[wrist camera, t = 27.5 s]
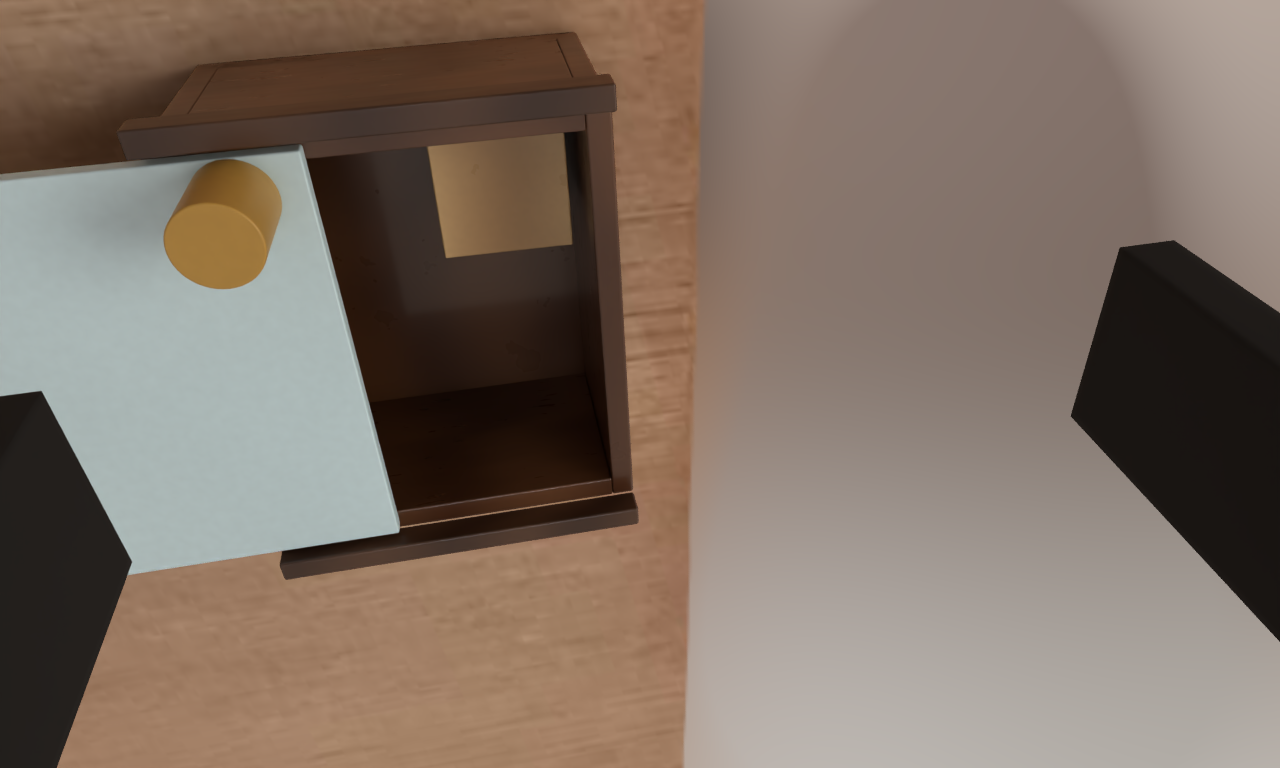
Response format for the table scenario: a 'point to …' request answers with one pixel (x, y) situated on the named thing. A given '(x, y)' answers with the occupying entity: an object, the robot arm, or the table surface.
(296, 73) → the wooden box
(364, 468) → the pale blue square panel
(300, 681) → the table surface
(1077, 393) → the robot arm
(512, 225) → the block
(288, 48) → the table surface
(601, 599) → the table surface
